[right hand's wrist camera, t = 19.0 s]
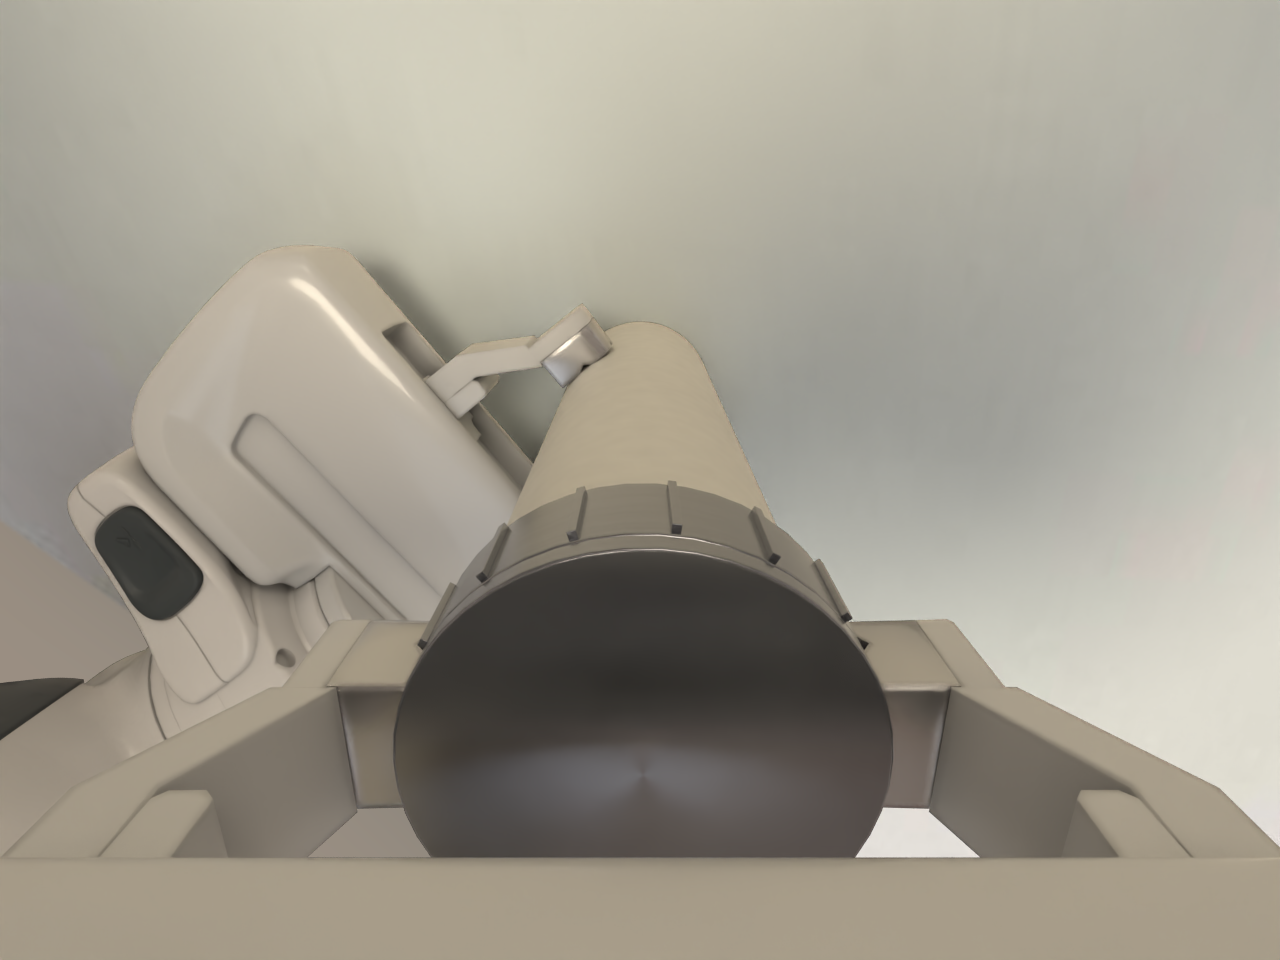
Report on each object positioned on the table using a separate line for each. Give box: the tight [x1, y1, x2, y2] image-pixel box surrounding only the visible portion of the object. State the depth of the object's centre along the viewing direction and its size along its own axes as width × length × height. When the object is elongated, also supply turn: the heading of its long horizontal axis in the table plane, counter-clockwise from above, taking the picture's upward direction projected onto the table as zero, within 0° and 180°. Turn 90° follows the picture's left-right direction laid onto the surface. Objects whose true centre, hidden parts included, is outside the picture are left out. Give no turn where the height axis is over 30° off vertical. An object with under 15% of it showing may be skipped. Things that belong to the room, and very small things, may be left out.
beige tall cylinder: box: [507, 322, 777, 526], centre depth 18 cm, size 5×5×19 cm
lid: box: [393, 480, 893, 858], centre depth 9 cm, size 6×6×2 cm
